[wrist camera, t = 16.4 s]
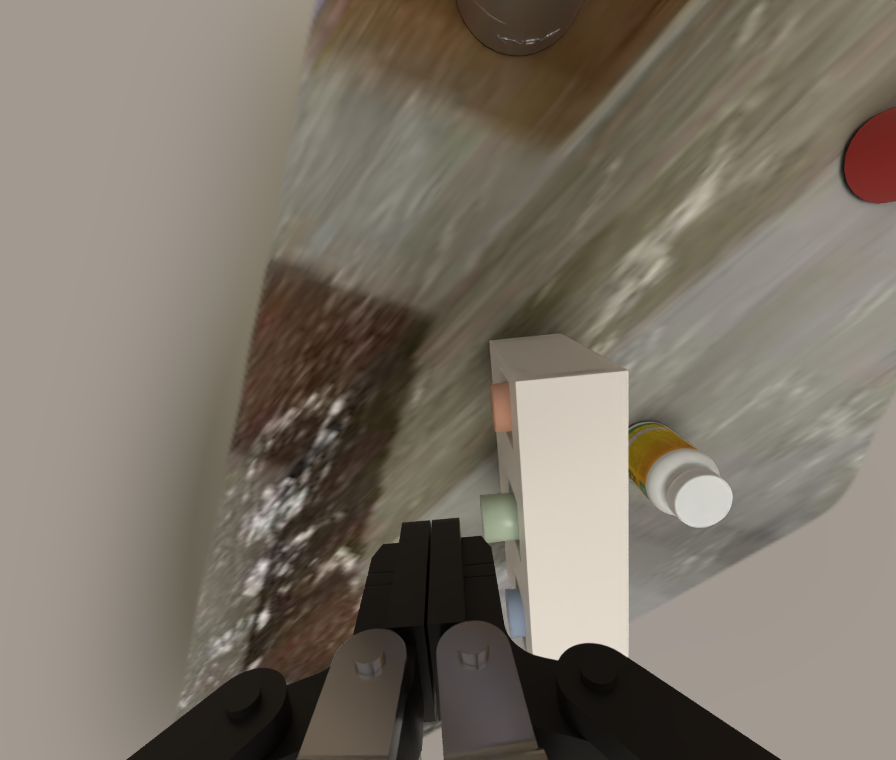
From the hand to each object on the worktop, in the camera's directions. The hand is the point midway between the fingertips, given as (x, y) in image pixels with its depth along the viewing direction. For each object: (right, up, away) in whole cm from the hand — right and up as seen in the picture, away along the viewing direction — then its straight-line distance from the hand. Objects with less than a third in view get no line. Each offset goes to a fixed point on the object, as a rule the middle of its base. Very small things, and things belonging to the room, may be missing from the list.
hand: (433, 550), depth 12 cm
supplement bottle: (+18, -2, +28) cm, 34 cm away
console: (+8, -3, +28) cm, 30 cm away
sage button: (+5, -5, +21) cm, 22 cm away
